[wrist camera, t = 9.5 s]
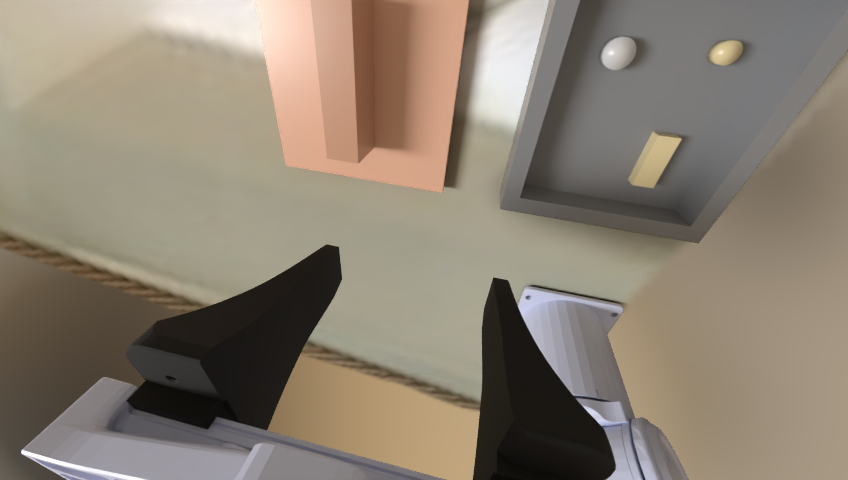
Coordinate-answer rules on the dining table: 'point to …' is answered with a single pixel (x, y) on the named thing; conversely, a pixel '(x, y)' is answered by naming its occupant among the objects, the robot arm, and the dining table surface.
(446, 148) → the lid
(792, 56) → the tub
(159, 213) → the dining table surface
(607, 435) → the robot arm
